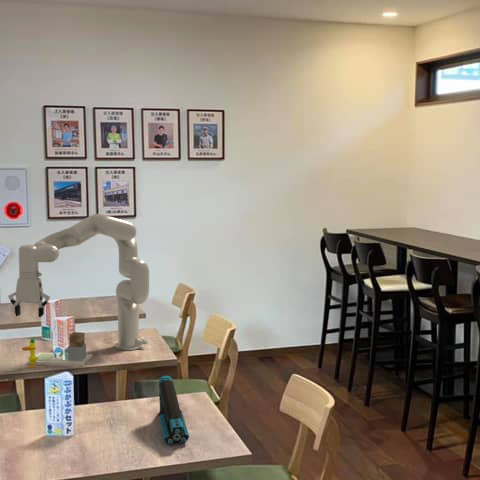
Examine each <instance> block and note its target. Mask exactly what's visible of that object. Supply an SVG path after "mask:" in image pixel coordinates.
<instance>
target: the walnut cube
mask: <svg viewBox="0 0 480 480" xmlns="http://www.w3.org/2000/svg"><path fill="white" fill-rule="evenodd" d="M68 336H69V337H68V341H69V343H68V344H69V345H68V346H69V347H82V346H83V345H84V344H86V343H85V339H86V337H85V332H78V331H73V332H71V333H70V334H69V335H68Z"/></svg>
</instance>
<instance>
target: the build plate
mask: <svg viewBox="0 0 480 480" xmlns="http://www.w3.org/2000/svg"><path fill="white" fill-rule="evenodd" d="M53 353H54V352H40V351H39V352H37V353H36V354H34V355H35V356H36V357H38V359H37V360H36V362H35V364H33V366H34V365H35V366H37V365H38V366H39V365H40V366H54V367H55V366H56V367H57V366H58V367H60V366H61V367H79V368H81V367H84V366H85V365H86V364H87V363H88V362H89V361H90V360H91V359H92V357H93V355H92V354H90V353H89V354H87V353H86V358H85V359H84V360H82V361H68V358H67V359H66V360H59V359H56V358H55V357H54V355H53ZM26 364H27V365H31V364H30V362H29V360H27V361H26Z"/></svg>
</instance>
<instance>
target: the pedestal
mask: <svg viewBox="0 0 480 480" xmlns="http://www.w3.org/2000/svg"><path fill="white" fill-rule="evenodd" d="M67 354H68V361H82V360H84V359H85V358H86V354H87V343H85V344H84V345H83V346H82V347H69V345H68V346H67Z"/></svg>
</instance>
